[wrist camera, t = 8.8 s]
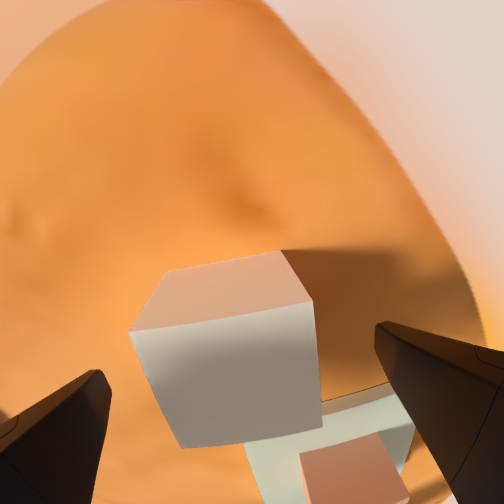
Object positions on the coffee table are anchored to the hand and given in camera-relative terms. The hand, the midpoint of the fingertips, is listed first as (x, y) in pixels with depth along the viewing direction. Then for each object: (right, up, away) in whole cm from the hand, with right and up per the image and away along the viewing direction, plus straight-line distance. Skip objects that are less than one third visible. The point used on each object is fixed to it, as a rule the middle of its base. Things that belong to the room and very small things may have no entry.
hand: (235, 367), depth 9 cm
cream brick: (0, +1, +4) cm, 4 cm away
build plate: (+6, -9, +6) cm, 12 cm away
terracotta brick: (+6, -9, +5) cm, 12 cm away
